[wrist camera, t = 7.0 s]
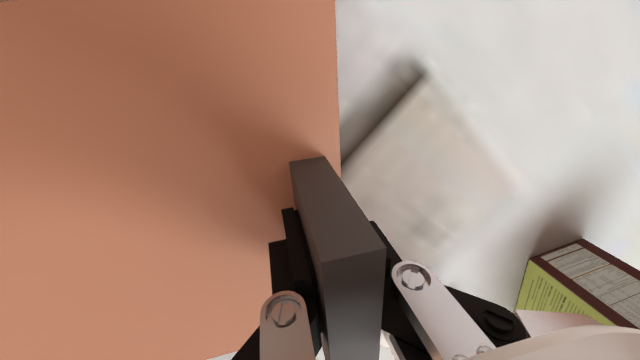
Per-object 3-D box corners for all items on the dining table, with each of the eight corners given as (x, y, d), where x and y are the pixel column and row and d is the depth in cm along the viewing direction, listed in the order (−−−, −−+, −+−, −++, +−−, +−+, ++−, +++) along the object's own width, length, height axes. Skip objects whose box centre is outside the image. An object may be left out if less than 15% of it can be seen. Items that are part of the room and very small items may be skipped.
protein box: (512, 316, 47) (615, 422, 34) (527, 258, 40) (668, 365, 26) (560, 297, 48) (679, 392, 35) (584, 236, 41) (748, 329, 27)
